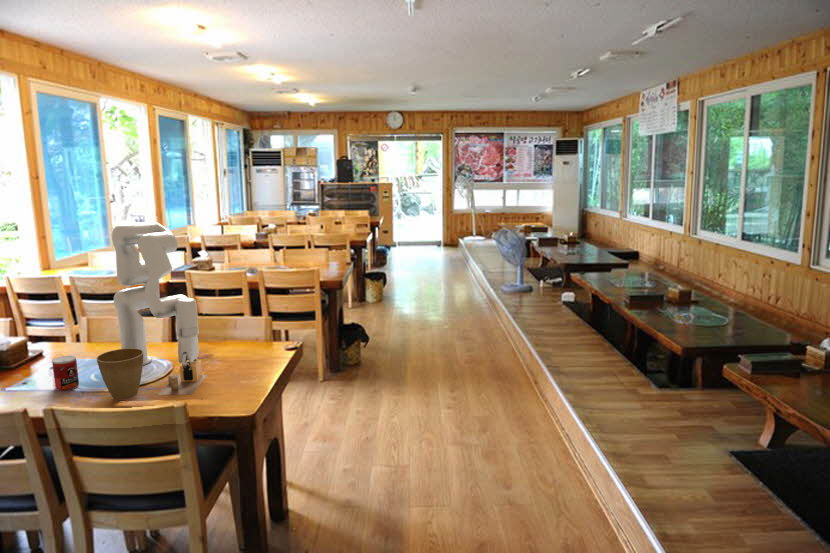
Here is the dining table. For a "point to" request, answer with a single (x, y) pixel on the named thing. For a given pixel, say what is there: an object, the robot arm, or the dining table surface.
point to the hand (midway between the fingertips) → (191, 376)
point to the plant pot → (121, 371)
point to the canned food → (65, 372)
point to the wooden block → (195, 369)
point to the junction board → (180, 386)
